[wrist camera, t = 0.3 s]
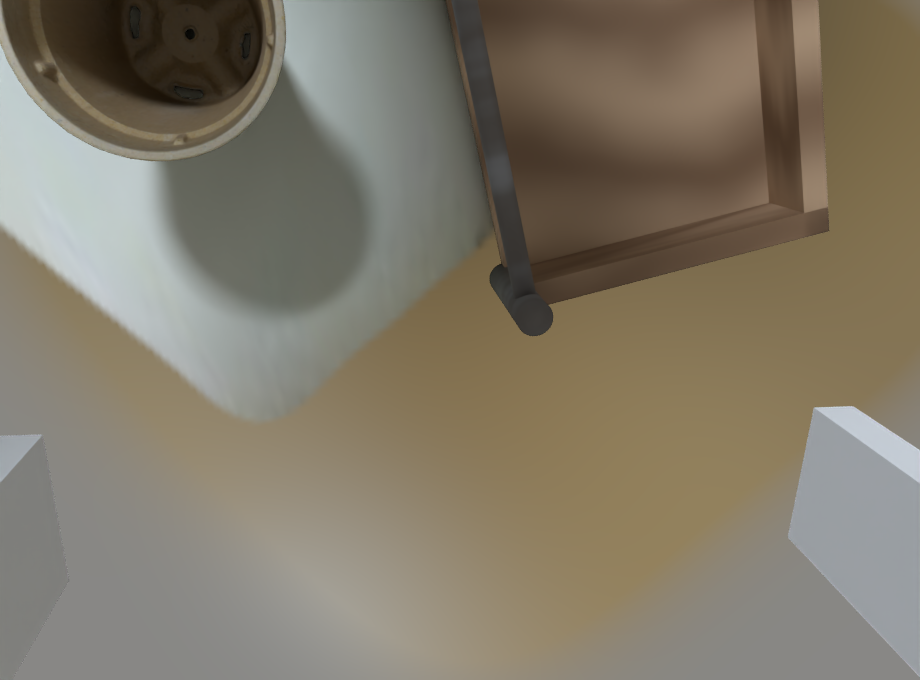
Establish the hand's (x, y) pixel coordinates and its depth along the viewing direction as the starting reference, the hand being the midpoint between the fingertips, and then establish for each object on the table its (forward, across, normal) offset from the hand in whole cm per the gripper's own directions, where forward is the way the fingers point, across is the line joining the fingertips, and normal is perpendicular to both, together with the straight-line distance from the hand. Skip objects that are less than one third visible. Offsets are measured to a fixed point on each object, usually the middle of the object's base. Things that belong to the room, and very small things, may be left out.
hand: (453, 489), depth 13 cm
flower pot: (+26, -9, +8) cm, 29 cm away
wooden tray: (+26, +10, +10) cm, 29 cm away
